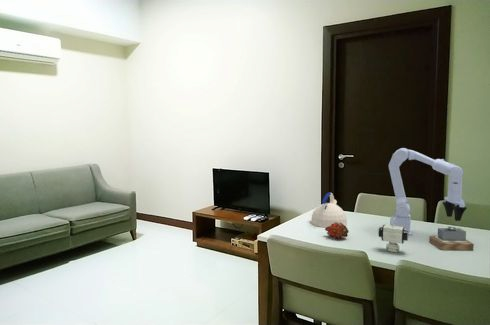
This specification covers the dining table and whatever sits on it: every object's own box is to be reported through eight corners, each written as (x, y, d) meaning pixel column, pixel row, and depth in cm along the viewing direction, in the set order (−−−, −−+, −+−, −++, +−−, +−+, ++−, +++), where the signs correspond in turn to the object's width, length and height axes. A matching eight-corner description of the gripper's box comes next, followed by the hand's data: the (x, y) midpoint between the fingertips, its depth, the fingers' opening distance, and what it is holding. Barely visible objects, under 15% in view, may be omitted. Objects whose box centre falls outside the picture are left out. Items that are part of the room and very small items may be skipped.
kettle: (351, 221, 202) (352, 191, 201) (340, 230, 185) (341, 197, 183) (318, 217, 213) (318, 188, 211) (305, 225, 196) (305, 193, 194)
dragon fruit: (349, 243, 168) (326, 242, 175) (352, 230, 174) (329, 229, 180) (344, 232, 164) (321, 232, 171) (347, 218, 170) (324, 219, 176)
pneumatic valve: (379, 247, 158) (380, 221, 157) (407, 251, 153) (408, 225, 151) (377, 250, 154) (378, 224, 153) (406, 255, 148) (407, 228, 147)
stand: (440, 249, 154) (441, 242, 154) (429, 241, 165) (429, 235, 165) (473, 250, 153) (473, 243, 153) (459, 242, 164) (459, 235, 164)
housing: (442, 240, 157) (443, 229, 156) (437, 237, 162) (438, 226, 161) (465, 241, 156) (466, 229, 156) (459, 237, 161) (460, 226, 161)
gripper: (472, 193, 159) (470, 222, 160) (455, 188, 173) (453, 214, 175) (456, 193, 159) (455, 222, 161) (440, 188, 174) (439, 214, 175)
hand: (453, 218), depth 168 cm, fingers open, 7 cm apart
